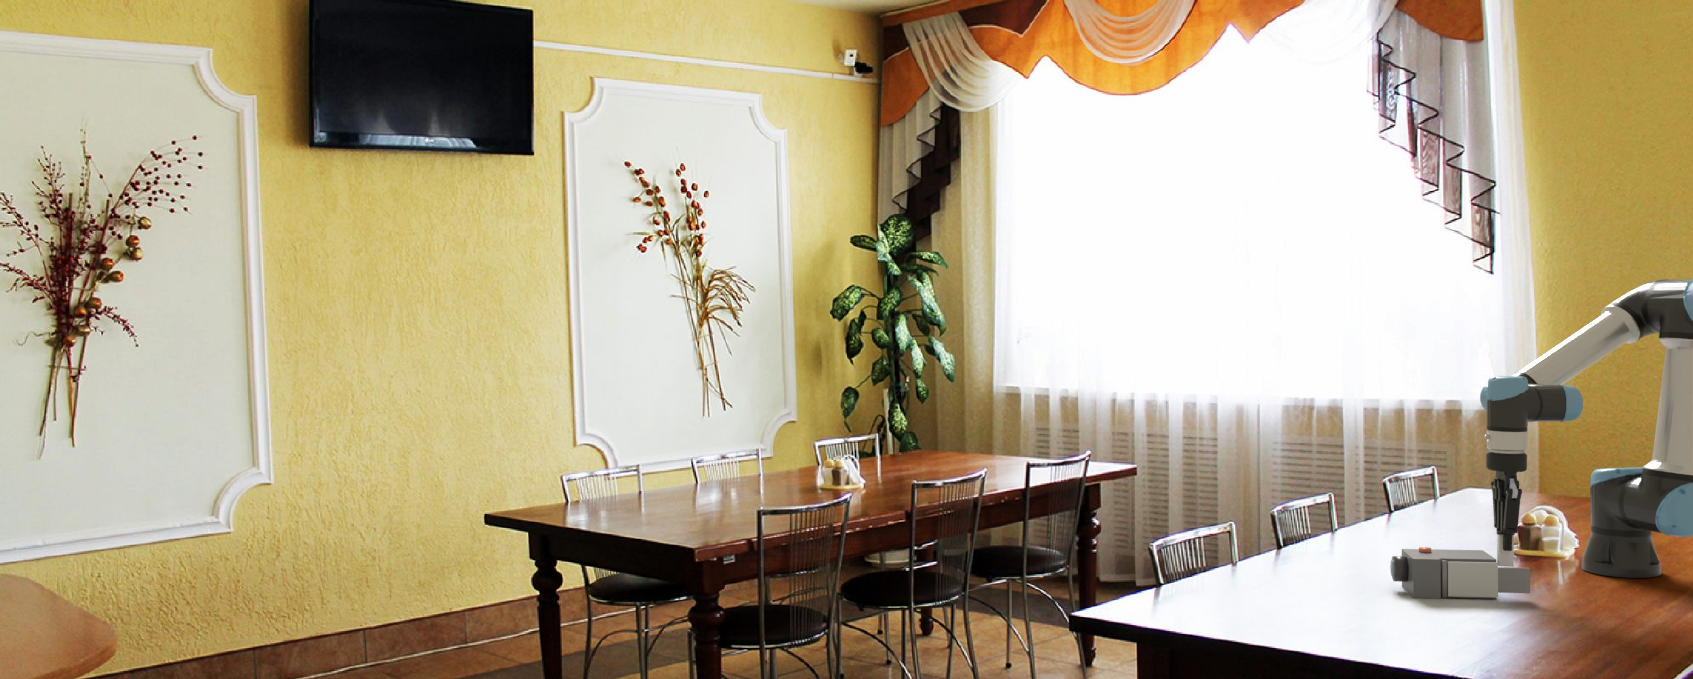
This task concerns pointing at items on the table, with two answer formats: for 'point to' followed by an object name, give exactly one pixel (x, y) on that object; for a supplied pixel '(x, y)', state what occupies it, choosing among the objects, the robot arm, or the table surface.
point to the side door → (1482, 579)
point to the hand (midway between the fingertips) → (1505, 565)
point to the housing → (1430, 569)
